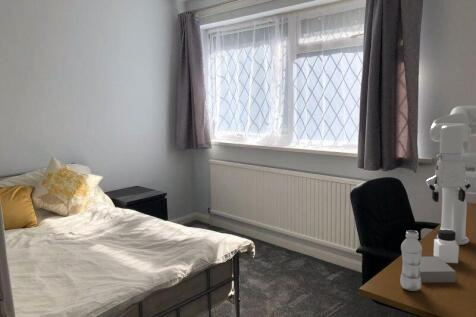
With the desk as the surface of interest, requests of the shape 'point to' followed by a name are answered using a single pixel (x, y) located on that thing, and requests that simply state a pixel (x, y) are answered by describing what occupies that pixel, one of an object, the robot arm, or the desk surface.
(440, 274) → the base block
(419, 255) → the plastic bottle
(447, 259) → the medicine bottle
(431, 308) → the desk surface
